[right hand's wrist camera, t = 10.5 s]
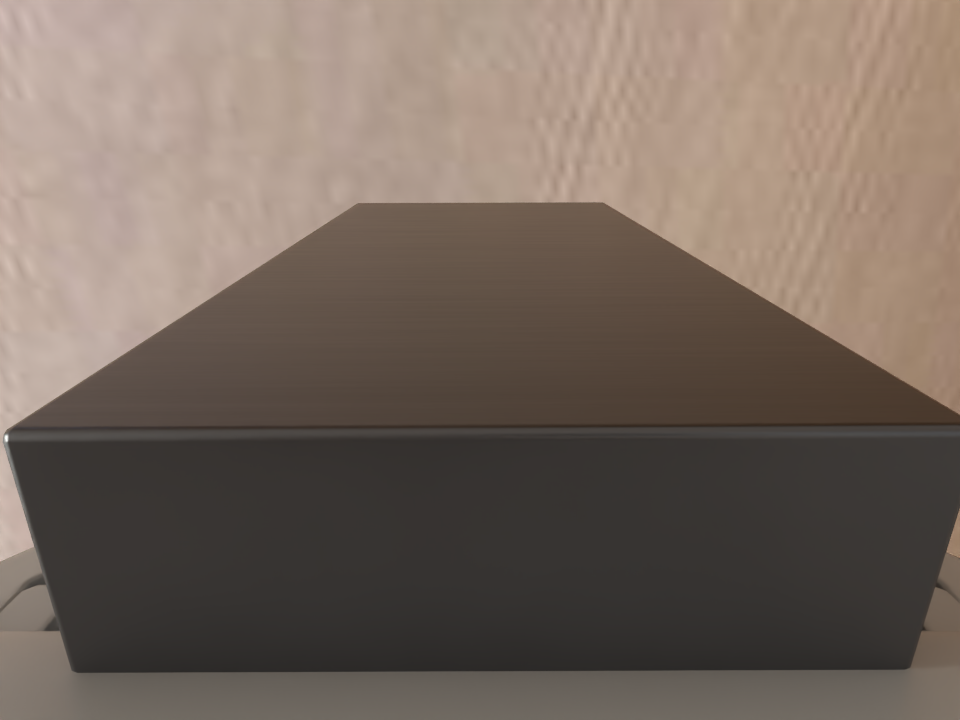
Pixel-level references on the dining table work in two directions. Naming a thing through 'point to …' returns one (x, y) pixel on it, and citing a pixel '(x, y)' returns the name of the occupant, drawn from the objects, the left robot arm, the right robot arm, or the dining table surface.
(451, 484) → the box
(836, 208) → the dining table surface
